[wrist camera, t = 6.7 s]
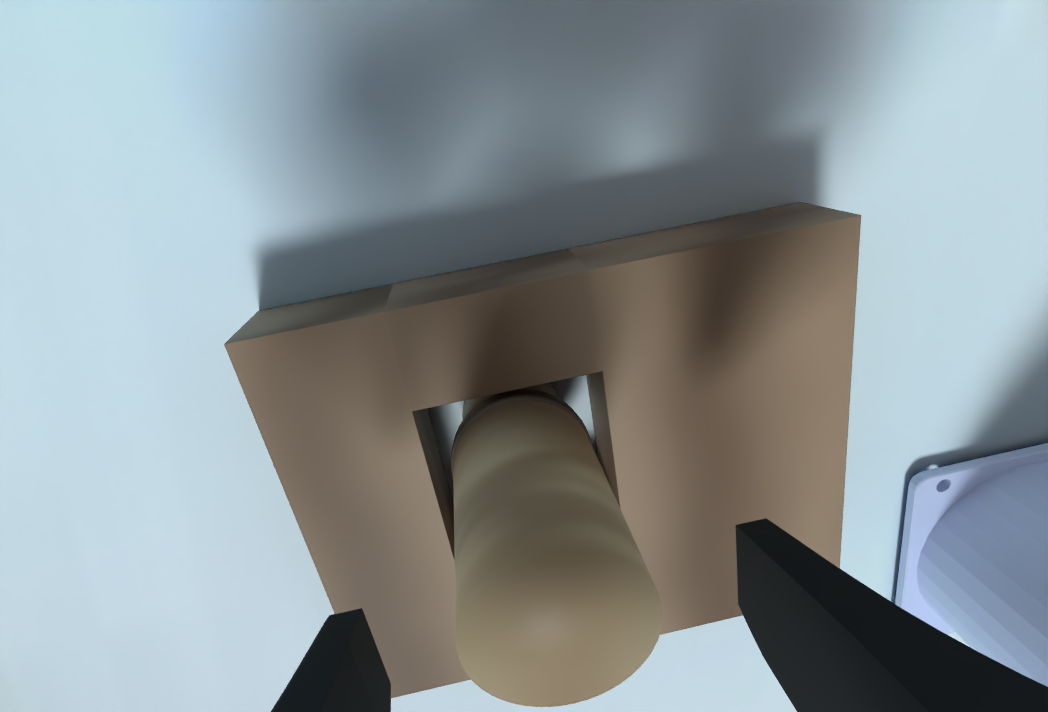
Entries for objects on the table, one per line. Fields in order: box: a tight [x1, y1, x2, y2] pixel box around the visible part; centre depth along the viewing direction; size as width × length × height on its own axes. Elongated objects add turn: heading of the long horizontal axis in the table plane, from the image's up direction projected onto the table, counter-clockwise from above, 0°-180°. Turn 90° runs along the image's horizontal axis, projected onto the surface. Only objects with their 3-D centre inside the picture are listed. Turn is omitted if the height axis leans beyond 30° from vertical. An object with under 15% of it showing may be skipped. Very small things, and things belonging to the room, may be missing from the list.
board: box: [224, 202, 861, 698], centre depth 17 cm, size 15×12×2 cm
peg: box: [451, 383, 663, 707], centre depth 13 cm, size 4×4×8 cm
